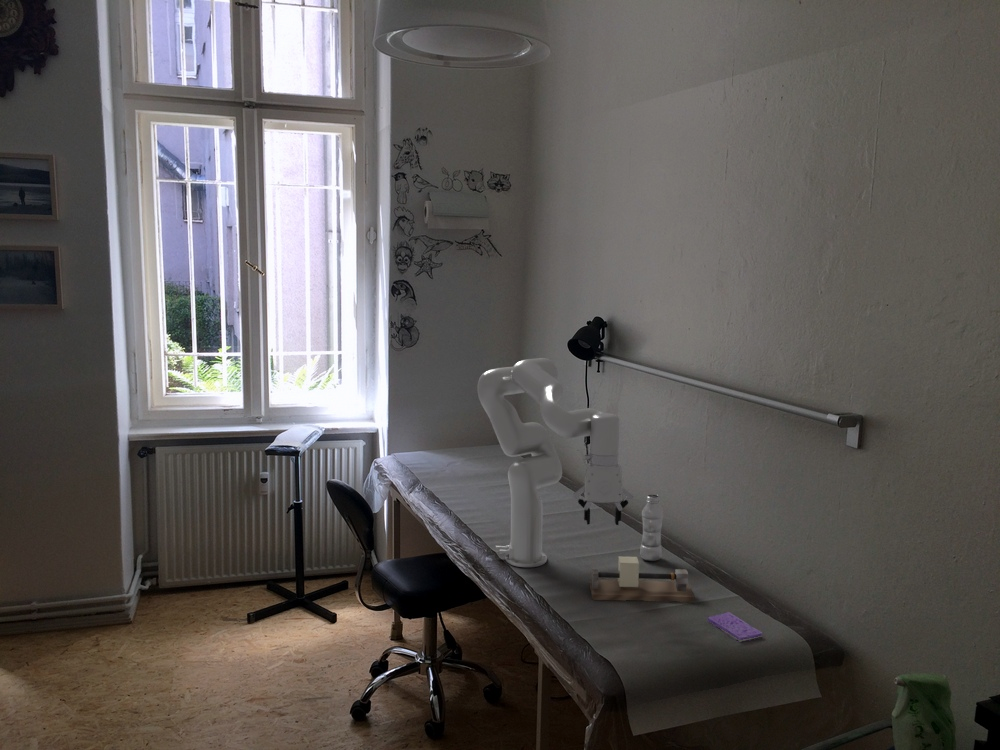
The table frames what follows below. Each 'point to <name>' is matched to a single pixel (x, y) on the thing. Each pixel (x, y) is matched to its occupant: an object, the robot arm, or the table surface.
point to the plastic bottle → (651, 529)
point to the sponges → (734, 626)
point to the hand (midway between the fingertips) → (602, 522)
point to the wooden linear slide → (642, 587)
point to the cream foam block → (628, 571)
